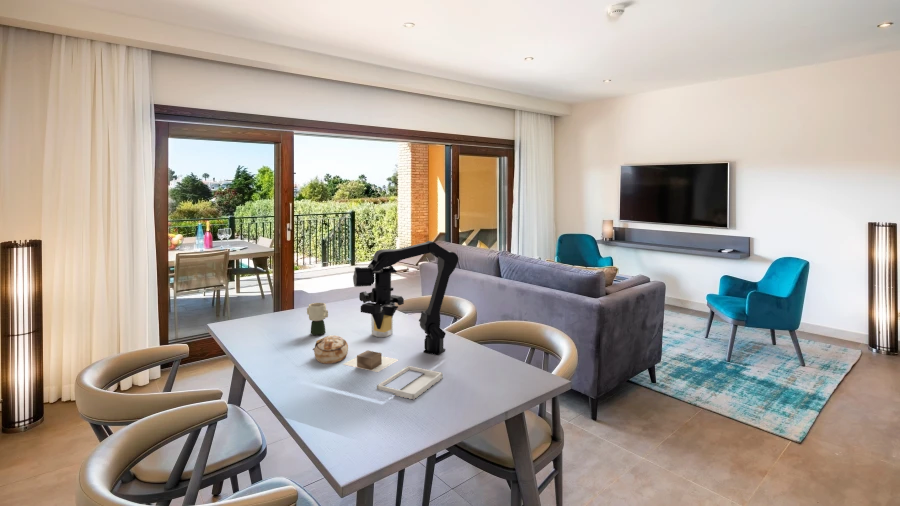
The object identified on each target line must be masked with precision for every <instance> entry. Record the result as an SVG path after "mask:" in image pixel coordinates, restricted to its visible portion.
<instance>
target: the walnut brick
mask: <svg viewBox="0 0 900 506" xmlns="http://www.w3.org/2000/svg"><path fill="white" fill-rule="evenodd" d="M382 356H383V354H382V353H381V352H377V351H373V350H365V351H363V352H362V353H359V354H357V355H356V357H357V367H360V368H359V369H361V368H365V369H369V370H368V371H370V370H372V369H374V368H376V367H378V366H379V365H381V364H382ZM365 369H364V370H365Z"/></svg>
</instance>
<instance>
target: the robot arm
mask: <svg viewBox="0 0 900 506" xmlns="http://www.w3.org/2000/svg"><path fill="white" fill-rule="evenodd" d="M426 254H431V255H432V256H433V257H435V258H437V262H436V263H437V264H436V266H437V275H436V279H435V282H434V286H433V290H432V293H431V296H430V300H429V304H428V307H427V309H426V310H425V311H422V310H421V311H420V312H421V313H420V318H419V319H418V322H419V326H420V328H421V330H423V331H424V333H425V334H426V335H425V338H424V345H423V346H424V350H423V351H422V352H423V353H426V354H429V355H431V354H432V355H437V356H438V355H440V354H442V353H443V352H445V351H446V348H445V347H444V340H445V336H446V332H445V331H444V330H443V329H442V328H441V310H442V309H441V308H442V305H443V301H444V298H445V294H446V291H447V287H448V283H449V280H450V276H451V275H452V274H453V272H454V271H455V269H456V268H457V265H458V263H459V261H460V260H459V257H458V254H457V253H456V252H454V251H451V250H448V249H446V248H443V247H441V245H438V243H436V242H435V241H431V240H427V241H426V242H422V243H417V244H414V245H408V246H405V247H401V248H400V247H399V248H395V249H392V248H390V249H388V248H387V249H386V248H385V249H379V250H376V251H375V253H374V254H373V259H372V260H371V262H370V263H369V264H368V266H367V267H361V266H359V267H358V266H356V267H354V272H353V275H352V279H353V280H352V281H353V286H354V288H359V287H371V286H372V285H374V287H372V289H371V291H370V292H367V291H361V292H359V298H358V299H359V301H361V302H362V304H361V305H360V313H362V314H368V315H369V314H370V315H372V316H373V318H374V321H375V324H376V326H377V329H380V328H381V325H382V321H383V317H384V315H388V316H392V317H393V316H394V315H395V313H396V311H397V310H398V309H399V306H401V305H404V303H405V300H404V299H405V298H403V296H402V295H401V296H400V295H395V294H392V292H393V291H394V287H392V274H394V273H395V274H396V273H398V272H397V270H396V269H395V268H394V267H393V266H394V265H396V264H398V263H399V262H400V261H403V260H406V259H411V258H414V257H418V256H419V257H420V256H422V255H426ZM396 304H397V305H396ZM382 308H383V310H384V311H382Z"/></svg>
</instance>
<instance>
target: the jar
mask: <svg viewBox="0 0 900 506" xmlns="http://www.w3.org/2000/svg"><path fill="white" fill-rule="evenodd" d="M382 311H384V310H383V308H382ZM370 315H371V314H370ZM370 317H371V318H370V319H371V324H370V325H371V335H372V336H374V337H376V338H384V337H385V338H388V337H390V336H391V335H393V334H394V333H393V331H394V328H393V325H394V324H393V321H394V319H393V317H392V325H391V330H389V331H387V332H379V331H374V318H373V316H372V315H371V316H370Z"/></svg>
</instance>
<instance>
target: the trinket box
mask: <svg viewBox="0 0 900 506" xmlns="http://www.w3.org/2000/svg"><path fill="white" fill-rule="evenodd" d="M312 351H313V353H314V358H315V359H316V361H317V362H318V363H320V364H335V363H339V362H342V361H343V360H344V359H345V358H346V357H347V356H348V352H349V345H348V342H347V341H346V340H345V339H344V338H343V337H341V336H339V335H333V334H331V335H327V336H324V337H322V338H320V339H318V340H316V342H315V344H314V347H312Z"/></svg>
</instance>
